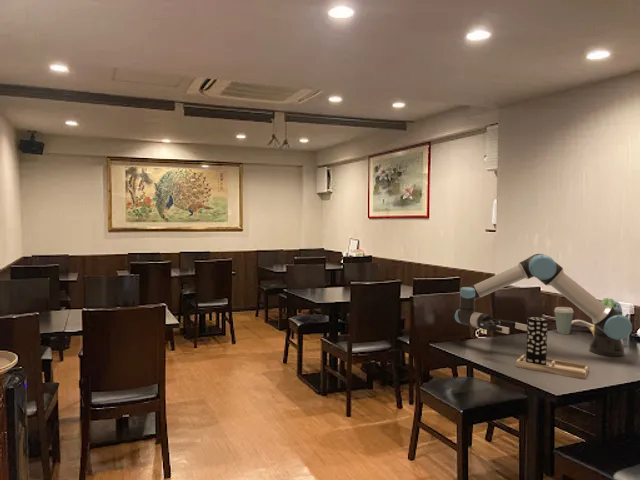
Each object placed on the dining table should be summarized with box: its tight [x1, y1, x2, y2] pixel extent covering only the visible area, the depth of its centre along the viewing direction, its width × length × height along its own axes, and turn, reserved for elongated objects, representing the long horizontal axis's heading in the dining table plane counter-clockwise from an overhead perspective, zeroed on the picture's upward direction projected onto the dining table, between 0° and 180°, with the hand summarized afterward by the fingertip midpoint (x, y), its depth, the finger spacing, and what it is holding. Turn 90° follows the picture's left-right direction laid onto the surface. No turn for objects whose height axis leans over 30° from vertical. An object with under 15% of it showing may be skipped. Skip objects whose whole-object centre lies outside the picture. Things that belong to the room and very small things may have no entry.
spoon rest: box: [571, 319, 594, 331], centre depth 287 cm, size 24×12×7 cm, turn 75°
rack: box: [515, 354, 590, 380], centre depth 210 cm, size 14×27×2 cm, turn 55°
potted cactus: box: [589, 297, 623, 337], centre depth 258 cm, size 15×15×25 cm
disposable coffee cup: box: [553, 306, 575, 335], centre depth 283 cm, size 11×11×15 cm
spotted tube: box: [525, 316, 549, 365], centre depth 214 cm, size 8×8×20 cm
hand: (518, 329), depth 222 cm, fingers open, 13 cm apart
